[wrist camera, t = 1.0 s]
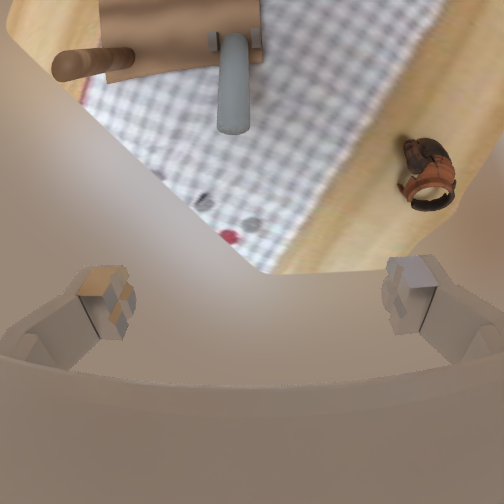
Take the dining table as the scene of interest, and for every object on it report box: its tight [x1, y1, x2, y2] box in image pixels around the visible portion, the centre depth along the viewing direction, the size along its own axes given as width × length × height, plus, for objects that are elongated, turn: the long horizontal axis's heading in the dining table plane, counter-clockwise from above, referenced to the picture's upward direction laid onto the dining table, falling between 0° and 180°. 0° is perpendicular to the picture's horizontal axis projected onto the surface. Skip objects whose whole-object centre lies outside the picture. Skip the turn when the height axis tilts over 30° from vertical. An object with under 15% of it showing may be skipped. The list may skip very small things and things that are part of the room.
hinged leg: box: [217, 33, 250, 135], centre depth 28 cm, size 3×3×12 cm
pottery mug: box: [398, 138, 456, 211], centre depth 39 cm, size 12×10×8 cm
